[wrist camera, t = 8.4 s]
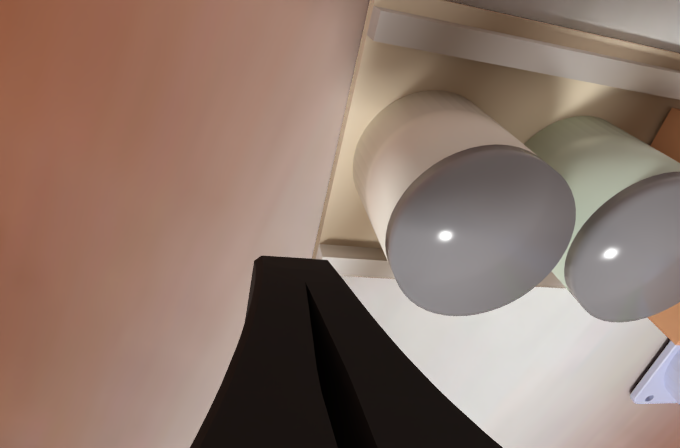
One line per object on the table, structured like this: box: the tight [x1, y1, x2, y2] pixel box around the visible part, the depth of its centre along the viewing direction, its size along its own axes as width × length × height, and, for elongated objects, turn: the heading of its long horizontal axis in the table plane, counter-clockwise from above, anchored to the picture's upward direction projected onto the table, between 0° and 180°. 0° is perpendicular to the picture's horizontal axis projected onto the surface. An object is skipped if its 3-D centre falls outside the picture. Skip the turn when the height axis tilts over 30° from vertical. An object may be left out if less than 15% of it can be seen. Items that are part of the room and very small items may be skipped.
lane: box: [312, 0, 680, 288], centre depth 17 cm, size 20×10×6 cm, turn 78°
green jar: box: [524, 116, 680, 322], centre depth 16 cm, size 5×5×5 cm
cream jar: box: [353, 90, 576, 316], centre depth 15 cm, size 5×5×5 cm
